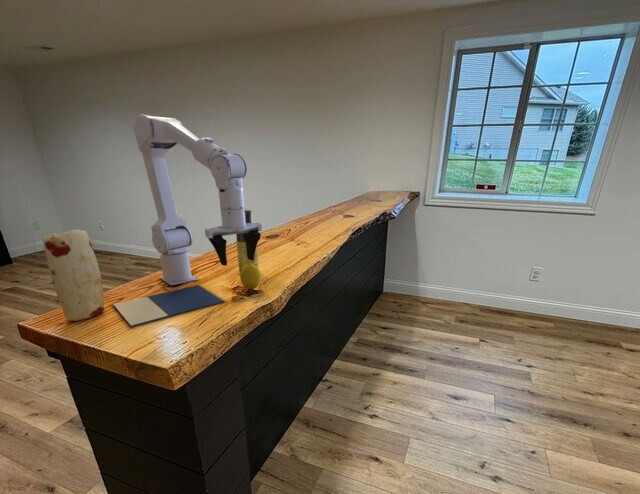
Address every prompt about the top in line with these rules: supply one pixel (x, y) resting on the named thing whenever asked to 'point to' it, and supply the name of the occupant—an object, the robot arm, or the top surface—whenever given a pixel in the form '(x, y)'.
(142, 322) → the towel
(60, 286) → the food model
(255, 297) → the top surface
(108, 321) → the top surface
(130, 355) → the top surface
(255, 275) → the lemon
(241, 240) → the sauce bottle
